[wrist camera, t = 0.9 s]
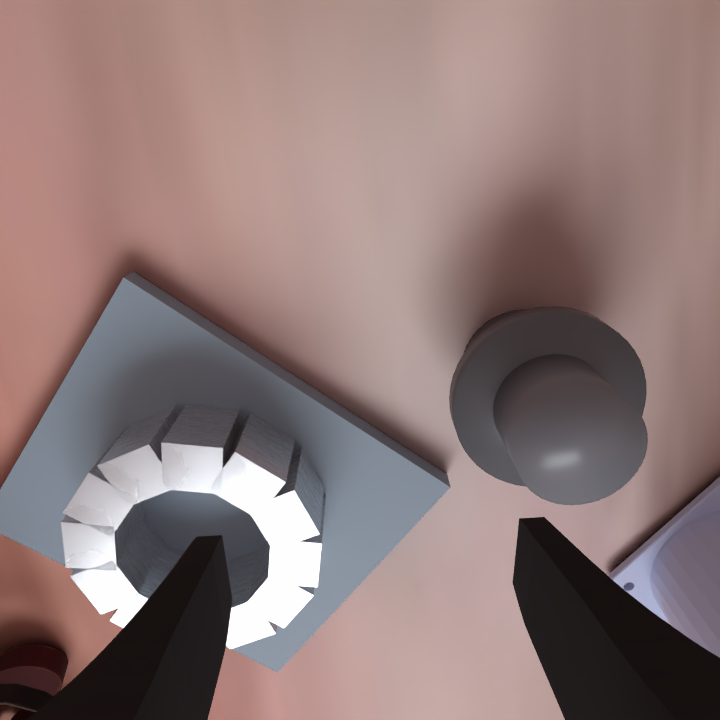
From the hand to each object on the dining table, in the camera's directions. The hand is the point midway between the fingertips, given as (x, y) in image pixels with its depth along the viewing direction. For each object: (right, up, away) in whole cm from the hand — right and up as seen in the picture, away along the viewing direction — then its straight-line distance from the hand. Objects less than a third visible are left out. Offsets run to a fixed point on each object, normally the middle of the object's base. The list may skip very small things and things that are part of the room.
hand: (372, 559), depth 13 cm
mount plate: (-7, -1, +12) cm, 14 cm away
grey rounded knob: (+6, +5, +10) cm, 13 cm away
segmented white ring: (-7, -1, +12) cm, 14 cm away
